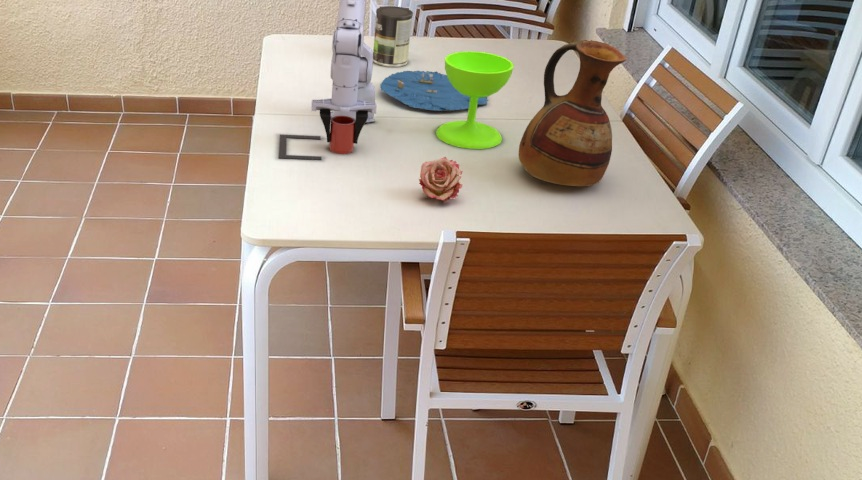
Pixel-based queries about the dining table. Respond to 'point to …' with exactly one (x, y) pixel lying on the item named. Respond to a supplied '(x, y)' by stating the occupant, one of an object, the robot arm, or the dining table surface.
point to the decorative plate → (426, 91)
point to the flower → (440, 179)
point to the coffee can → (392, 36)
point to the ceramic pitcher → (572, 121)
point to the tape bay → (283, 155)
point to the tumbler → (342, 134)
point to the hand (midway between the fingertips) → (341, 141)
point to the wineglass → (474, 96)
